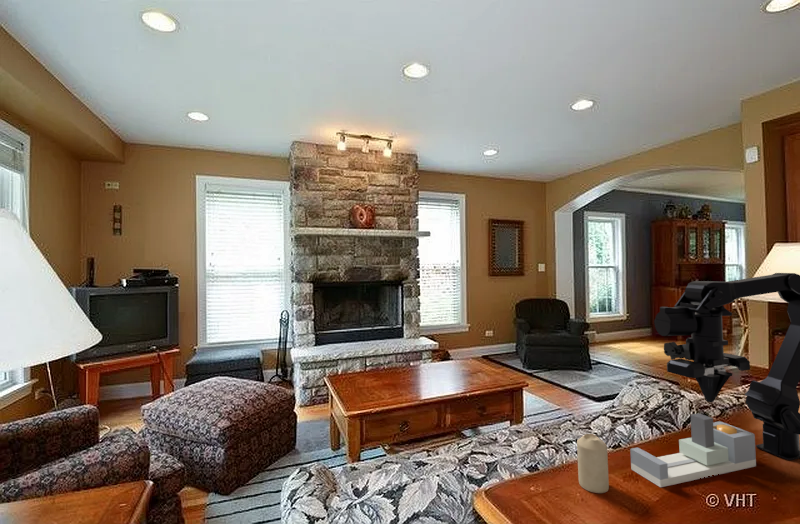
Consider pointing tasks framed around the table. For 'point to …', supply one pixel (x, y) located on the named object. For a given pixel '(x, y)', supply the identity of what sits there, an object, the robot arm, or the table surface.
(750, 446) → the rail
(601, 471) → the candle
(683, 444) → the carriage
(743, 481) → the table surface
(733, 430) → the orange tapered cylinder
